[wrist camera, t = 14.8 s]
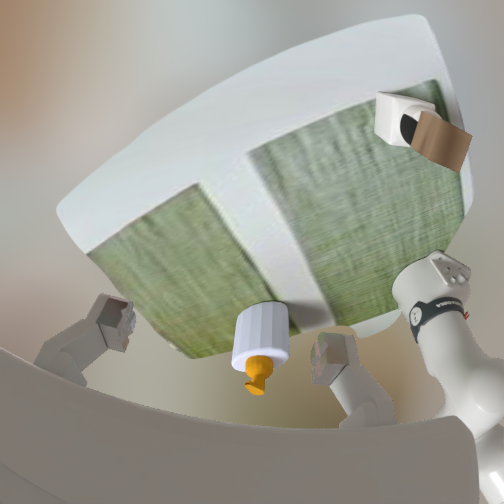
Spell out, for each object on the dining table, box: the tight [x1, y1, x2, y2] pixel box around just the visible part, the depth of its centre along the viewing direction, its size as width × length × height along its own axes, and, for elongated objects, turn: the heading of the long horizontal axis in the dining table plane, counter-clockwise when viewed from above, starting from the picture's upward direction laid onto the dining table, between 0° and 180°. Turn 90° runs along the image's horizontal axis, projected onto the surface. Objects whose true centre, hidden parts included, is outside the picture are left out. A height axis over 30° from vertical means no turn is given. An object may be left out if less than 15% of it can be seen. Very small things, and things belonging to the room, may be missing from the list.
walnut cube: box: [410, 111, 472, 173], centre depth 26 cm, size 5×5×5 cm
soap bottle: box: [231, 301, 289, 395], centre depth 58 cm, size 13×8×20 cm, turn 124°
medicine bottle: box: [374, 92, 442, 147], centre depth 33 cm, size 7×7×12 cm
